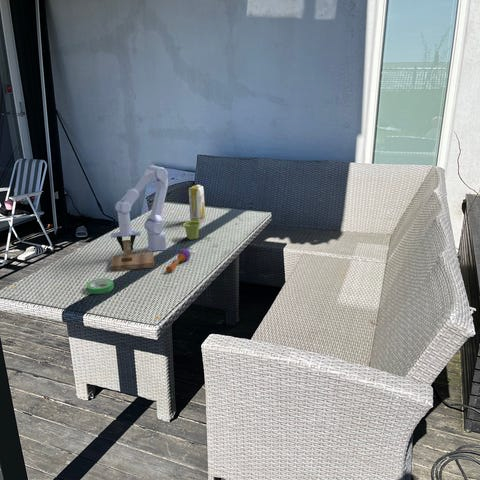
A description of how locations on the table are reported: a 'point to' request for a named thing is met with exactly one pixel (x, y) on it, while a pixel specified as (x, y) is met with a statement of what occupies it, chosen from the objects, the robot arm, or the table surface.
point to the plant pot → (192, 229)
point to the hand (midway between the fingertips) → (127, 249)
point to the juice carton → (197, 203)
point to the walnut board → (132, 261)
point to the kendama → (179, 259)
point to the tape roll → (100, 290)
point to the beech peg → (127, 247)
